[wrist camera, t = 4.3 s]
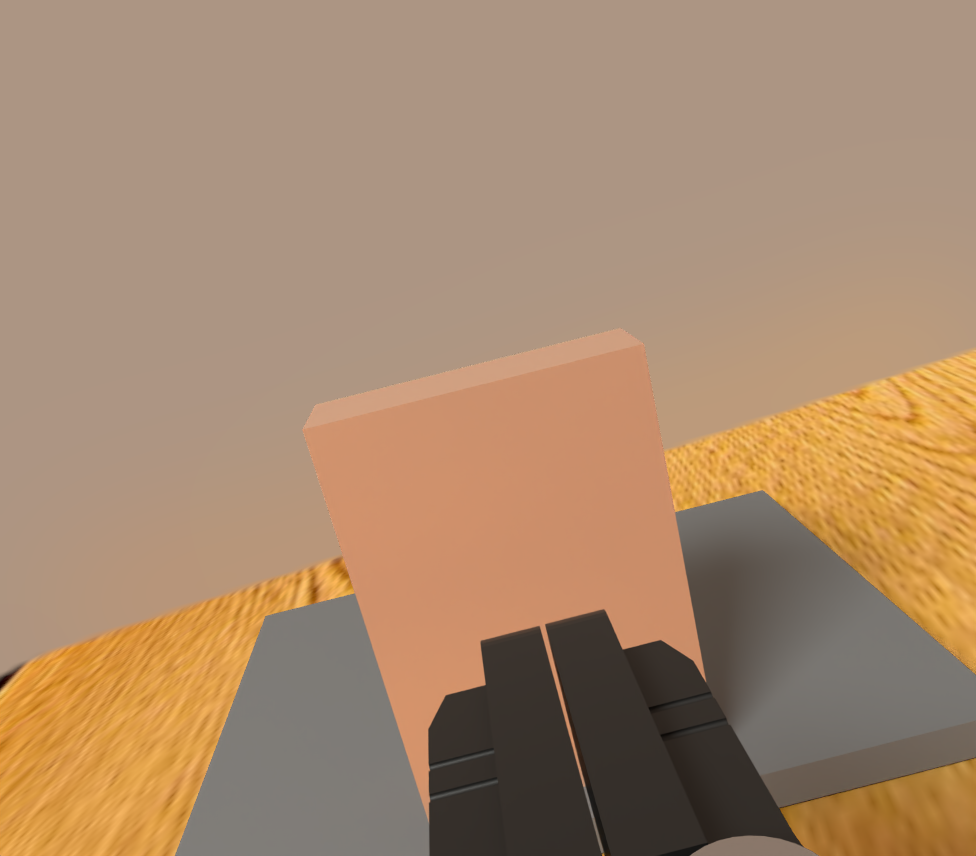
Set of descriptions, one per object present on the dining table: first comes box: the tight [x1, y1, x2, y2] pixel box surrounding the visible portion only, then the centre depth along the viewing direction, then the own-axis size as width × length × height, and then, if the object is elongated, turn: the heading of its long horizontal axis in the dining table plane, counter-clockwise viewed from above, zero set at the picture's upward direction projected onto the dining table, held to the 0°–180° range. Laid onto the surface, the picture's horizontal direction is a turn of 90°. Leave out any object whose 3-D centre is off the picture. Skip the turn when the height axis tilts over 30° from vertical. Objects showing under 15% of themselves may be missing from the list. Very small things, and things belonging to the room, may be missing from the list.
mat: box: [175, 490, 976, 856], centre depth 25 cm, size 20×14×1 cm
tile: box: [303, 328, 706, 822], centre depth 18 cm, size 7×2×10 cm, turn 94°
